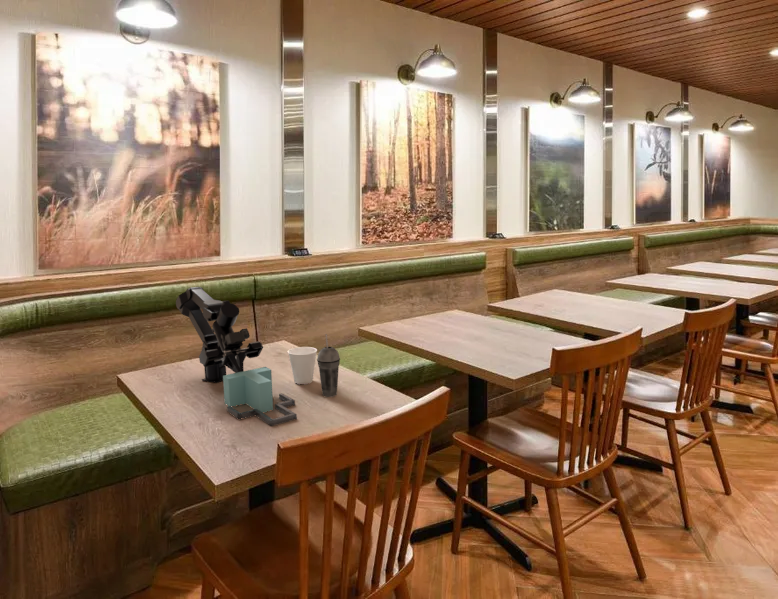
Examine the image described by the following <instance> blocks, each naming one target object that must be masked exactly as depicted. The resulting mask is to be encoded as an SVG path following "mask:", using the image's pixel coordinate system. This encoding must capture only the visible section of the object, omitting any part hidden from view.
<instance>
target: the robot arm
mask: <svg viewBox="0 0 778 599" xmlns="http://www.w3.org/2000/svg"><path fill="white" fill-rule="evenodd" d="M175 306H176V308H177V310H178V311H179V312H180V314H181V315H183V316H185V317H187V318H188V319H189V320H190V322H191V324H192V326H193V328H194V329H195V332H196V333H197V335H198V337H199V338H200V341H201V342H202V347H201V351H200V353H199V356H198V359H199V363H200V364H201V365H203V367H204V377H203V378H202V379H201V381H202V382H210V383H220V382H223V376H224V375H227V368H229V370H231V371H232V372H233V373H238V372H243V371H245V370H244V369H245V368H244V361H245V359H246V358H249V359H253V358H258V357H259V356H260V355H261V352H262V351H263V348H264V346H263V343H262V342H261V341H258V340H257V341H253V342H249V343H248V344H247V346H246V347H243V345H244V343H243V342H246V340H248V339H249V338H250V332H249V330H248V328H242V329H240V330H239V331H235V330H234V328H233V326H234V325H235V324H236V321H237V318H238V316H239V314H240V309H239V308H240V307H238V306H237V305H236V304H234V303H231V302H230V300H223V301H221V300H218V299H215V298H213V297H211V296H210V295H209V294H208V293H207V292H206V291H205V290H204V288H203V287H201V286H195V287H189V288H187V289H186V290H185V291H184V292H182V293H180V294H179V295H178V296H177V298H176V301H175ZM210 322H213V324H212V326H211V324H210ZM241 347H243V348H241Z"/></svg>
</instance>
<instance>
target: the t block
mask: <svg viewBox="0 0 778 599" xmlns="http://www.w3.org/2000/svg"><path fill="white" fill-rule="evenodd" d="M222 382H223V396H224V397H223V398H224V405H226V404H227V405H228V406H235V407H237V406H236V405H239V406H241V405H240V404H243V405H247V404H248V405H249V406H248V405H247V406H248V407H250V406H251V407H252V408H251V407H250V408H251V409H253V408H254V409H258V410H259V411H261V412H262V413H263V412H264V413H267V411H268V412H271V411H270V410H272V411H273V410H274V403H273V402H274V401H273V398H274V397H273V376H272V369H271V368H269V367H267V366H263V367H258V368H252V369H248V370H244V371H243V372H238V373H235V372H233V373H229V374H226V375H224V376H223V380H222ZM245 403H246V404H245ZM227 405H226V406H227ZM228 406H227V407H228Z"/></svg>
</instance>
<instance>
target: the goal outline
mask: <svg viewBox="0 0 778 599" xmlns="http://www.w3.org/2000/svg"><path fill="white" fill-rule="evenodd" d="M278 399H279V400H281V401H282V402H277V403H274V406H275V407H274V408H275V410H277V411H278V410H279V411H278V412H280V413H281V414H283V415H282V416H279V417H275V418H272V417H270V416H269V415H267V414H265V412H264V413H262V412H261V411H259V410H258V409H253V408H252V409H251V410H246V411H242V412H240V411H238V410H237V409H235V408H234V407H231V406H226V412H227V411H228V412H229V414H230V413H231V414H232V415H231V414H230V415H231V416H233V415H234V416H235V417H236V419H237V418H238V419H240V420H242V419H241V418H244V419H246V418H245V417H247V418H250V416H251V417H254V415H256V416H255V417H257V418H258V417H259V418H258V419H259V420H261V421H263V422H264V423H265V424H267V425H269V427H274V426H277V425H280V424H284V423H288V422H292V421H295V420H297V417H298V416H297V415H298V414H297V413H296V412H294V411H292V410H290V408H289V407H292V405H293V406H295V405H296V402H295V401H296V400H295V399H293V398H292V397H289V396H288V395H286V394H285V393H281V392H280V393H278ZM284 401H285V402H284ZM288 406H289V407H288ZM228 412H227V413H228ZM234 416H233V417H234ZM235 417H234V418H235ZM238 419H237V420H238ZM294 419H295V420H294Z"/></svg>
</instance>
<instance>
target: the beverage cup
mask: <svg viewBox="0 0 778 599" xmlns="http://www.w3.org/2000/svg"><path fill="white" fill-rule="evenodd" d="M324 335H325V345H326V346H324V347H323V348H321V349H320V350H319V352H317V353H318V354H317V358H316V361H317V366H318V369H319V379H320V385H321V393H322V396H323V397H324V396H325V398H333V397H335V396H337V393H338V384H339V383H338V382H339V368H340V362H341V356H340V353H339V352H338V350H337V349H336V348H335V347H333V346H329V342H328V333H325V334H324Z"/></svg>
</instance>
